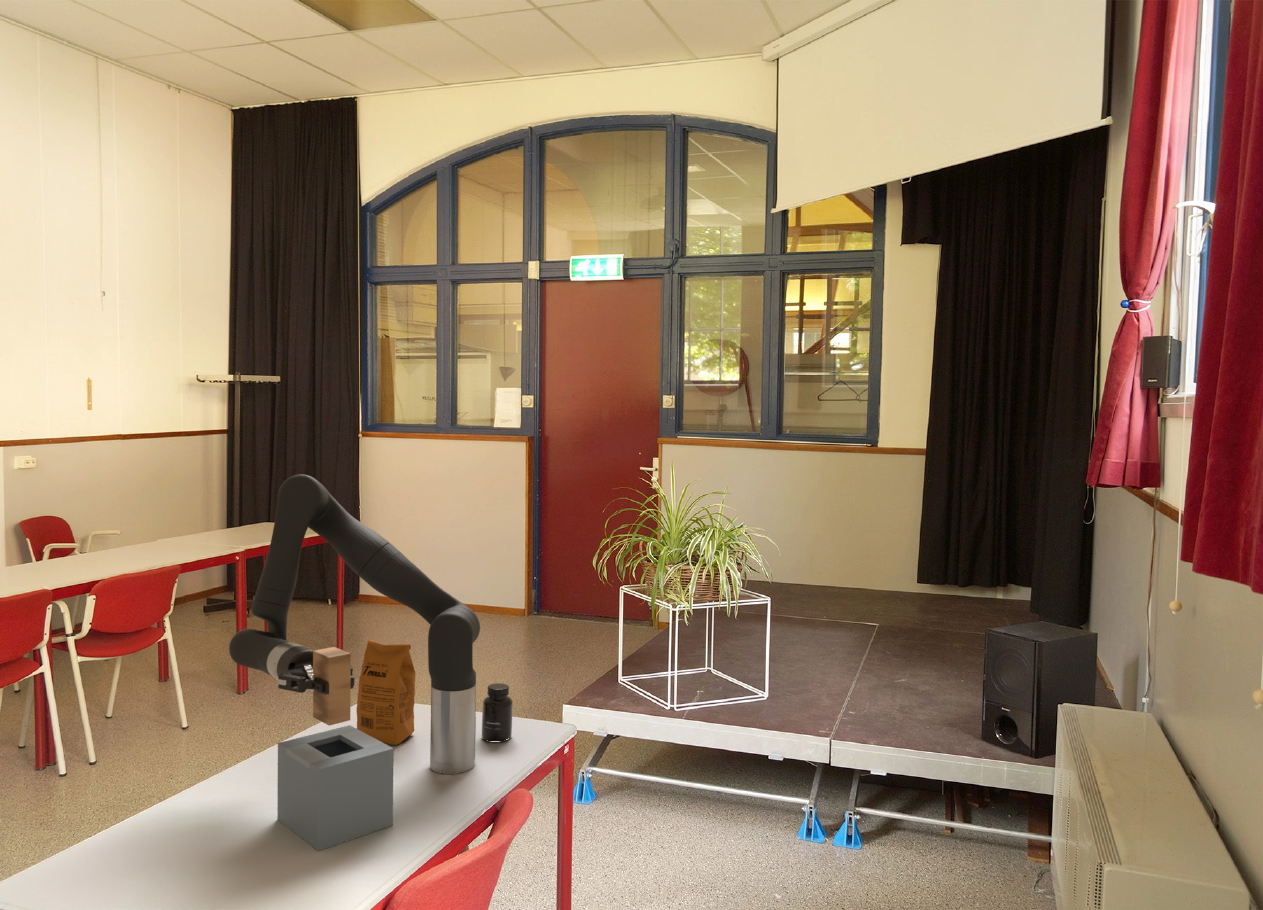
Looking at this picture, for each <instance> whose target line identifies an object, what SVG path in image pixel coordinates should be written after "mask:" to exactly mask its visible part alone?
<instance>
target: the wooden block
mask: <svg viewBox="0 0 1263 910" xmlns="http://www.w3.org/2000/svg"><path fill="white" fill-rule="evenodd" d="M351 656H352V655H351V652H349V651H346V650H343V649H340V648H338V647H335V646H332V647H331V646H330V647H326V648H320V649H315V650H314V651H313V675H316V676H317V678H321V679H323V680H325V681H328V683H329V694H326V695H324V694H322V693H319V692H317V691H313V692H312V718H314V719H315V720H318V721H320V722H321V723H323V724H326V725H328V726H333V725H336V724H337V725H338V724H340V723H341V724H342V723H345V722H349V721H351V689H350V687H351V666H352V665H351V661H352V660H351Z"/></svg>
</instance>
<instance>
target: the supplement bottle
mask: <svg viewBox="0 0 1263 910" xmlns="http://www.w3.org/2000/svg"><path fill="white" fill-rule="evenodd" d="M509 689H510V687H509V685H508V684H507V683H501V682H499V683H497V682H496V683H491V684H489V685H488V686H487V693H486V694H487V696H486V697H485V698H484V699H483V701H482V710H481V711H482V715H481V738H482V739H483V738H484V739H485V740H488V741H504V740H506V739H508V738H510V737H511V738H512V733H513V731H512V729H513V708H514V707H513V706H514V705H513V704H514V703H513V699H512V698H511V697H510V696H509V694H510V691H509ZM511 738H510V739H511ZM484 739H483V740H484ZM485 740H484V741H485ZM488 741H487V742H488ZM504 742H505V741H504Z"/></svg>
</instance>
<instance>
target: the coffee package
mask: <svg viewBox="0 0 1263 910" xmlns="http://www.w3.org/2000/svg"><path fill="white" fill-rule="evenodd" d="M411 649H412V646H411V644H410V643H400V644H383V643H380V642H379V641H376V640H373V639H369V640H367V644H366V648H365V651H364V654H363V661H362V665H361V671H360V675H359V678H358V691H357V701H356V729H358V730H360V731H362V732H364V733H366V734H367V735H369V736H371V737H373V738H375V739H377V740H379V741H381V742H382V743H384V744H386V745H388V746H390V745H391V746H392V745H393V746H396V745H399V744H401V743H402V742H403V741H404V740H405V739H407V738H408V737H409V736H411V735H413V733H414V732H415V711H414V710H415V709H414V708H415V703H416V702H415V697H416V671H415V667H414V663H413V659H412V657H411V651H410V650H411Z"/></svg>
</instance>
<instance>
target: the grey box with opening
mask: <svg viewBox="0 0 1263 910" xmlns="http://www.w3.org/2000/svg"><path fill="white" fill-rule="evenodd" d="M394 749H395V748H393V747H392V746H390V745H386V744H384V743H382V742H381V741H379V740H377V739H375V738H373V737H371V736H369V735H367V734H366V733H364V732H362V731H360V730H358V729H357V727H354V726H353V725H350V724H349V725H344V726H340V727H337V728H334V729H329V730H325V731H321V732H317V733H314V734H309V735H304V736H302V737H297V738H292V739H290V740H289V739H288V740H285V741H281V742H277V808H276V809H277V816H276V817H277V820H278V821H279V822H281V823H282V824H283V825H284V826H286V827H287V828H288V829H290V830H291V831H292V832H293V833H295V835H297V836H298V837H300V838H301V839H302V840H303V841H305V842H306V843H308V845H310V846H311V847H312V848H314V849H315V850H317V851H318V852H319V851H322V850H326V849H329V848H331V847H334V846H338V845H340V844H342V843H346V842H348V841H352V840H354V839H357V838H360V837H363V836H366V835H368V834H372V833H375V832H377V831H380V830H383V829H386V828H389V827H392V826H393V825H394V762H395V761H394V757H395V756H394V755H395V753H394Z"/></svg>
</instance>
